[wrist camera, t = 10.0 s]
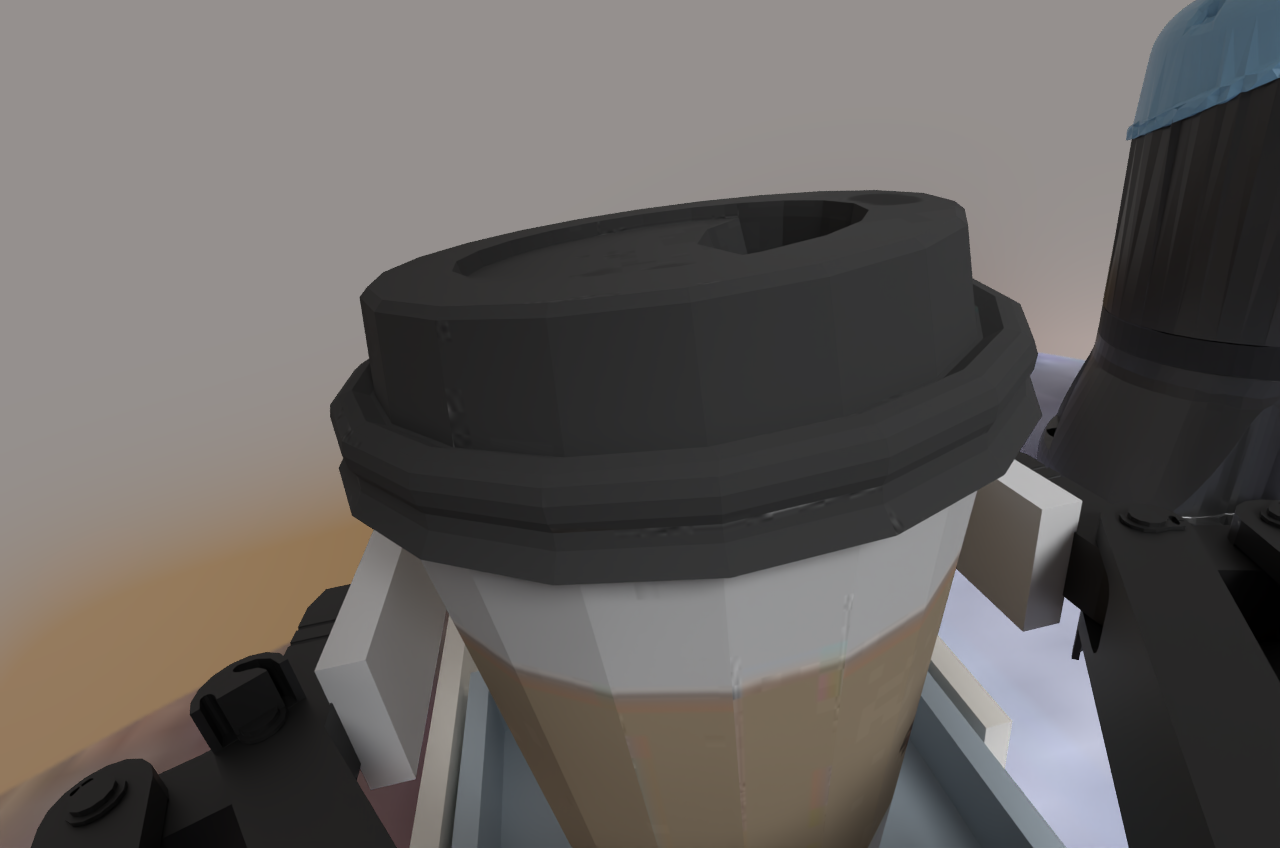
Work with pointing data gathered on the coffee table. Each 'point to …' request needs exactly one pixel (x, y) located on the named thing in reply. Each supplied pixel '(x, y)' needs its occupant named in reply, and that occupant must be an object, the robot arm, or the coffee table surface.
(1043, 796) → the coffee table surface
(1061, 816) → the coffee table surface
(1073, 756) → the coffee table surface
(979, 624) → the coffee table surface
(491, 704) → the tray
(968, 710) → the box
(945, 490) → the coffee cup
